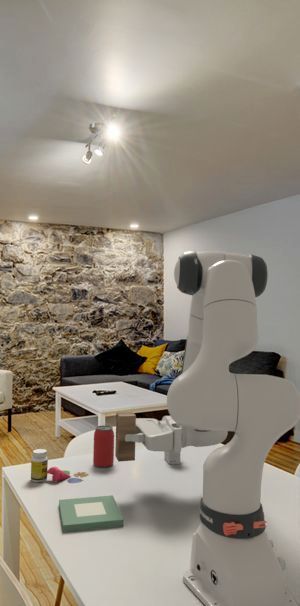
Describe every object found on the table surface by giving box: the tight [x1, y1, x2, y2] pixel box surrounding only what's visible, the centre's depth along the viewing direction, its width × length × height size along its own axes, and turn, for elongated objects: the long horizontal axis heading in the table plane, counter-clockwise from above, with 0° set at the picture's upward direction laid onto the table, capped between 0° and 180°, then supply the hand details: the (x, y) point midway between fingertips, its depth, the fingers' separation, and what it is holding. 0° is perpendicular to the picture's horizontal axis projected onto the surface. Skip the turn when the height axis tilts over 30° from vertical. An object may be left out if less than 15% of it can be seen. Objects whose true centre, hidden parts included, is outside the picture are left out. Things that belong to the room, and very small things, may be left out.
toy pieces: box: [46, 466, 89, 484], centre depth 137 cm, size 12×11×4 cm
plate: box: [58, 495, 125, 533], centre depth 113 cm, size 14×14×2 cm
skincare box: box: [163, 451, 181, 465], centre depth 154 cm, size 6×4×12 cm
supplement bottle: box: [30, 448, 49, 483], centre depth 135 cm, size 5×5×8 cm
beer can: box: [92, 425, 115, 468], centre depth 149 cm, size 7×7×12 cm
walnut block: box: [114, 411, 137, 462], centre depth 125 cm, size 4×4×12 cm
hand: (122, 434), depth 125 cm, fingers closed on walnut block, 4 cm apart
